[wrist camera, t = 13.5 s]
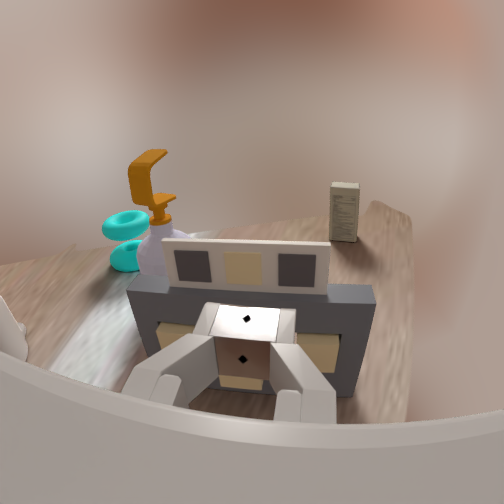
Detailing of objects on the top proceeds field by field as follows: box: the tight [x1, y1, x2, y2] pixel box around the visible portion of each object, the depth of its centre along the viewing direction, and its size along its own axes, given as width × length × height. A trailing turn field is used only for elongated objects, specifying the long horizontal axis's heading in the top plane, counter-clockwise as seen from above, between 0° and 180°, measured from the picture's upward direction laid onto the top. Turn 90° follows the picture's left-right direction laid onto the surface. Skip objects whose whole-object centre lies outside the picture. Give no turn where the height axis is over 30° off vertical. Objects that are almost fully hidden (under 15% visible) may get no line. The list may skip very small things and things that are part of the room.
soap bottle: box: [128, 149, 192, 276], centre depth 47 cm, size 9×9×25 cm
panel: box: [126, 238, 376, 397], centre depth 33 cm, size 24×3×19 cm, turn 81°
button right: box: [297, 333, 339, 373], centre depth 33 cm, size 4×7×4 cm, turn 171°
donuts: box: [102, 210, 149, 272], centre depth 63 cm, size 10×10×10 cm
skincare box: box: [329, 182, 360, 242], centre depth 68 cm, size 6×4×12 cm
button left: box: [156, 322, 196, 349], centre depth 35 cm, size 4×7×4 cm, turn 171°
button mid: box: [219, 375, 263, 390], centre depth 31 cm, size 4×7×4 cm, turn 171°
